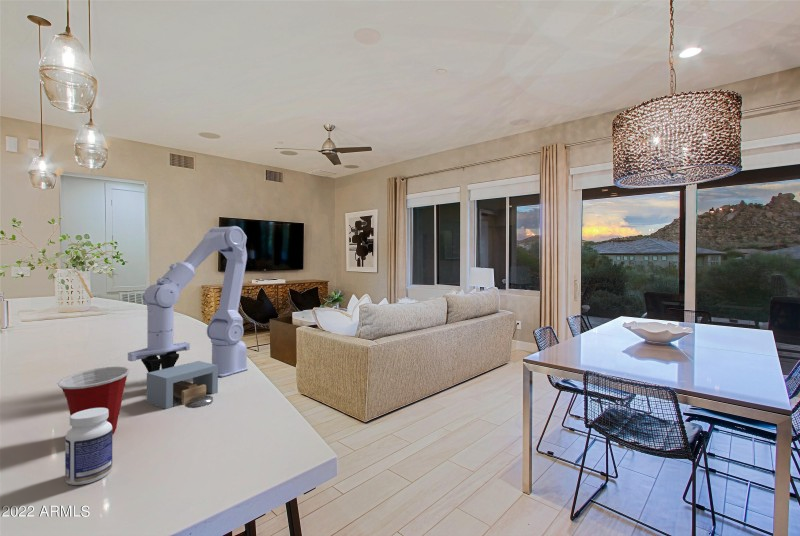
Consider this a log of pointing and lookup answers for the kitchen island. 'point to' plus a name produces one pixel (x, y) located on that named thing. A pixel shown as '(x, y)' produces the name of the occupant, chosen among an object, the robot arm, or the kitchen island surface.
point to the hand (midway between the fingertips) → (160, 382)
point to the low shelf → (164, 379)
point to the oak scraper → (188, 391)
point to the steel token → (200, 401)
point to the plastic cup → (96, 391)
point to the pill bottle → (88, 447)
